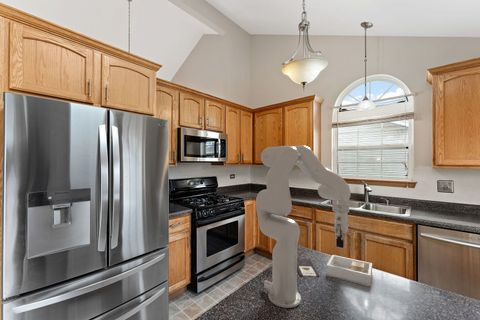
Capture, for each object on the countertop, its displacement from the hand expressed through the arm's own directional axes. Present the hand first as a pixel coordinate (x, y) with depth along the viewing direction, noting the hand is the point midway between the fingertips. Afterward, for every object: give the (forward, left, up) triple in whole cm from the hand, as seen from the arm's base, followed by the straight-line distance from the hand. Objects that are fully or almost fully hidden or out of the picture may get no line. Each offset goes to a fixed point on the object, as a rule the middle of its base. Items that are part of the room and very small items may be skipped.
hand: (340, 244), depth 111 cm
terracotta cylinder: (0, 0, -1) cm, 1 cm away
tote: (+4, 0, -13) cm, 14 cm away
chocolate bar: (-16, -5, -14) cm, 22 cm away
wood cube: (+7, 0, -12) cm, 15 cm away
